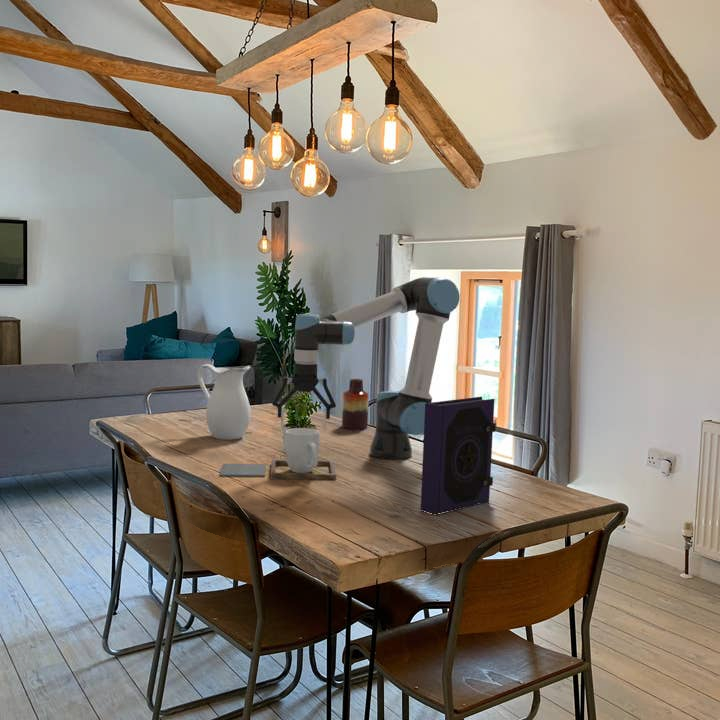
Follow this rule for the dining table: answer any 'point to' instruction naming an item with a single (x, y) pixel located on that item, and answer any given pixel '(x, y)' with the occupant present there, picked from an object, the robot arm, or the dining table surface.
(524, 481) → the dining table surface
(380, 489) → the dining table surface
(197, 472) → the dining table surface
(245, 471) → the slate trivet
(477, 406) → the book
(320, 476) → the frame
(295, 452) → the mug
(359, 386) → the vase
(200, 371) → the pitcher
